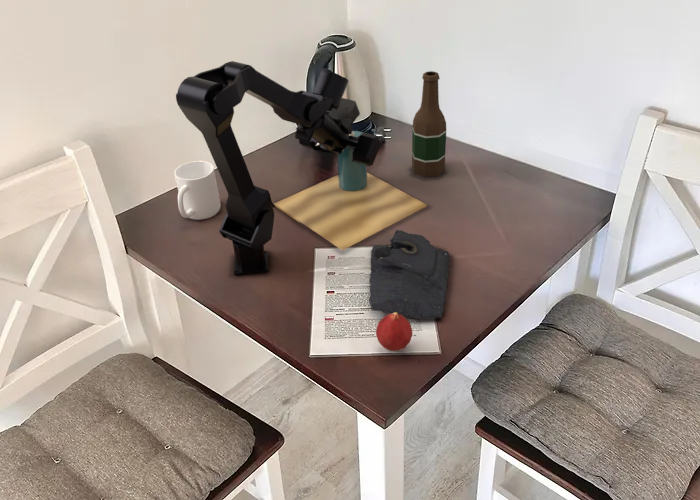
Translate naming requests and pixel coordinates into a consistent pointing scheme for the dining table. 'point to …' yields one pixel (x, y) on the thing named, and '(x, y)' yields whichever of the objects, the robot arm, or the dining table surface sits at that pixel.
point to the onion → (394, 332)
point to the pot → (351, 169)
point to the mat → (349, 209)
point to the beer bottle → (429, 131)
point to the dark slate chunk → (409, 277)
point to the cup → (197, 190)
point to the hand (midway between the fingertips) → (355, 154)
